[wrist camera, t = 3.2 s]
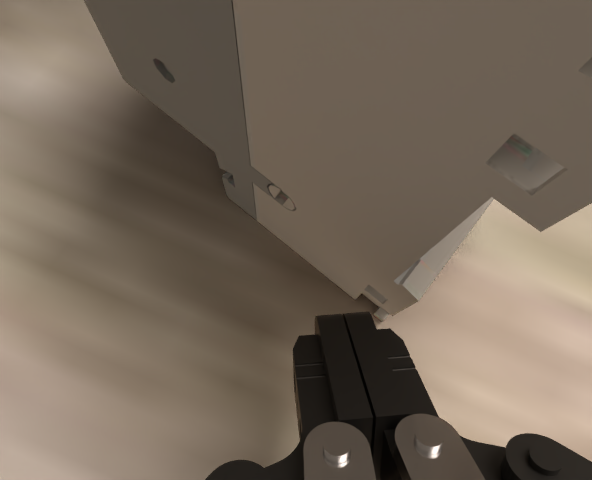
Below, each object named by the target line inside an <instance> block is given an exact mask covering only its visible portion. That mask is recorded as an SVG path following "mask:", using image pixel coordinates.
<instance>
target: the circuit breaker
mask: <svg viewBox="0 0 592 480" xmlns="http://www.w3.org/2000/svg"><path fill="white" fill-rule="evenodd" d="M84 1H85V3H86V5H87V7H88V9H89V11H90V13H91V15H92V17H93V19H94V21H95V23H96V25H97V27H98V29H99V31H100V33H101V35H102V37H103V39H104V41H105V43H106V45H107V47H108V49H109V51H110V53H111V55H112V57H113V59H114V61H115V63H116V65H117V67H118V69H119V71H120V73H121V75H122V77H123V79H124V80H125V81H126V82H127V83H128V84H129V85H131V86H132V87H133V88H134V89H136V90H137V91H138V92H139V93H141V94H142V95H143V96H145V97H146V98H147V99H148V100H150V101H151V102H152V103H153V104H155V105H156V106H157V107H158V108H160V109H161V110H162V111H163V112H165V113H166V114H167V115H168V116H170V117H171V118H172V119H174V120H175V121H176V122H177V123H179V124H180V125H181V126H182V127H184V128H185V129H186V130H187V131H189V132H190V133H191V134H192V135H194V136H195V137H196V138H197V139H199V140H200V141H201V142H203V143H204V144H205V145H206V146H208V147H209V148H210V149H211V150H213V151H214V152H215V155H216V158H217V161H218V165H219V168H220V169H223V170H225V171H226V172H225V173H224V174H223V175H222V180H223V183H224V187H225V191H226V195H227V197H228V198H229V199H230V200H232V201H233V202H234V203H235V204H237V205H238V206H239V207H240V208H242V209H243V210H244V211H245V212H247V213H248V214H249V215H250V216H252V217H253V218H254V219H255V220H257V221H258V222H259V223H260V224H261V225H263V226H264V227H265V228H266V229H268V230H269V231H270V232H271V233H273V234H274V235H275V236H276V237H278V238H279V239H280V240H281V241H283V242H284V243H285V244H286V245H288V246H289V247H290V248H291V249H293V250H294V251H295V252H296V253H297V254H299V255H300V256H301V257H302V258H304V259H305V260H306V261H307V262H309V263H310V264H311V265H312V266H314V267H315V268H316V269H317V270H319V271H320V272H321V273H322V274H324V275H325V276H326V277H327V278H329V279H330V280H331V281H332V282H333V283H335V284H336V285H337V286H338V287H340V288H341V289H342V290H343V291H345V292H346V293H347V294H348V295H350V296H351V297H352V298H353V299H355V300H356V299H357V298H358V296H359V295H360V294H361V293H362V294H363V295H364V296H366V297H367V298H368V299H369V300H371V301H372V302H373V303H374V304H376V305H377V306H378V307H379V308H378V309H377V310H376V312H375V313H374V314H373V315H374V316H376V317H377V318H378V319H379V320H381V321H384V320H385V319H386V318H387V316H388V315H389V314H390V315H392V316H393V315H395V314H397V313H398V312H400V311H402V310H404V309H405V308H407V307H409V306H411V305H412V304H414V303H416V302H418V301H419V300H420V298H421V297H422V296H423V294H424V293H425V292H426V290H427V289H428V288H429V286H430V285H431V284H432V282H433V281H434V279H435V278H436V277H437V275H438V274H439V273H440V271H441V270H442V269H443V267H444V266H445V265H446V263H447V262H448V260H449V259H450V258H451V256H452V255H453V254H454V252H455V251H456V250H457V248H458V247H459V246H460V244H461V243H462V241H463V240H464V239H465V237H466V236H467V235H468V233H469V232H470V231H471V229H472V228H473V227H474V225H475V224H476V222H477V221H478V220H479V218H480V217H481V216H482V214H483V213H484V212H485V210H486V209H487V208H488V206H489V205H490V203H491V202H492V201H493V199H495V200H497V201H498V202H500V203H501V204H502V205H504V206H505V207H507V208H508V209H509V210H511V211H512V212H514V213H515V214H516V215H518V216H519V217H521V218H522V219H523V220H525V221H526V222H528V223H529V224H531V225H532V226H533V227H535V228H536V229H538V230H539V231H540V232H541V231H543V230H545V229H547V228H548V227H550V226H552V225H554V224H555V223H557V222H559V221H561V220H563V219H564V218H566V217H568V216H570V215H571V214H573V213H575V212H577V211H578V210H580V209H582V208H584V207H585V206H587V205H589V204H591V203H592V0H84Z"/></svg>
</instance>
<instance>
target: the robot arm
mask: <svg viewBox="0 0 592 480" xmlns="http://www.w3.org/2000/svg"><path fill="white" fill-rule="evenodd" d="M293 368H294V392H295V401H296V409H297V418H298V427H299V436H300V442H299V444H298V446H297V447H296V448H295V450H294V451H293V452H292V453H291V454H290V455H289V456H288V457H286V458H285V459H283V460H281V461H279V462H277V463H275V464H273V465H270V466H268V467H266V468H263V467H261V466H260V465H259V464H257V463H255V462H252V461H248V460H235V461H230V462H228V463H225V464H223V465H221V466H219V467H218V468H217V469H215V470H214V471H213V472H212V473H211V474H210V475H209V476H208V477H207V478H206V480H592V462H591V461H589V460H587V459H586V458H584V457H582V456H580V455H579V454H577V453H575V452H573V451H572V450H570V449H568V448H566V447H565V446H563V445H561V444H560V443H558V442H556V441H554V440H552V439H550V438H547V437H545V436H542V435H538V434H529V433H525V434H520V435H517V436H515V437H513V438H511V440H510V441H509V442H508V444H507V446H506V448H505V447H500V446H495V445H489V444H484V443H479V442H475V441H471V440H468V439H466V438H463V437H461V436H459V434H458V433H457V431H456V430H455V429H454V428H453V427H452V426H451V425H450V424H449V423H447V422H446V421H444V420H443V419H441V418H439V416H438V414H437V412H436V410H435V408H434V406H433V404H432V402H431V399H430V397H429V395H428V393H427V391H426V389H425V387H424V384H423V382H422V380H421V378H420V376H419V374H418V371H417V370H416V369H415V365H414V363H413V361H412V359H411V358H410V354H409V352H408V350H407V348H406V346H405V344H404V341H403V340H402V339H401V338H400V337H399V336H398V335H396V334H395V333H394V332H393V331H392V330H391V329H379V330H377V329H376V326H375V324H374V321H373V319H372V316H371V314H370V312H359V313H346V314H343V315H342V314H334V315H321V316H315V335H304V336H299V337H298V339H297V341H296V343H295V346H294V348H293Z"/></svg>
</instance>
